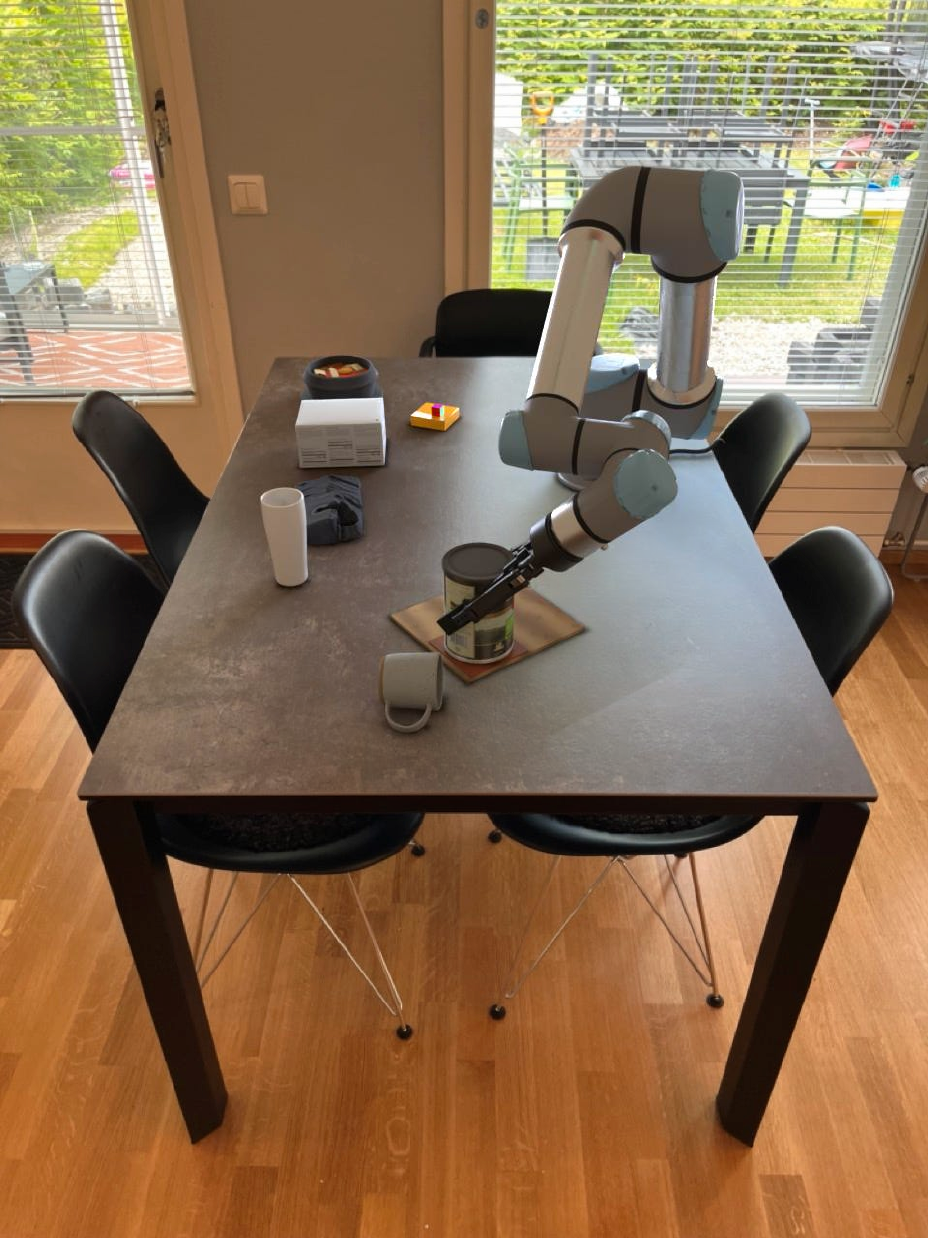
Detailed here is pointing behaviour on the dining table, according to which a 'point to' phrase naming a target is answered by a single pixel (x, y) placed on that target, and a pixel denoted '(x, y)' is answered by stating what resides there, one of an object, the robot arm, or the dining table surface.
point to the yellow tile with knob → (435, 416)
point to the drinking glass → (286, 534)
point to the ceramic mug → (411, 684)
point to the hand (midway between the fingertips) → (459, 607)
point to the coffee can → (465, 579)
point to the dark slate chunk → (332, 509)
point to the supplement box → (341, 433)
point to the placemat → (532, 631)
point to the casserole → (340, 379)
